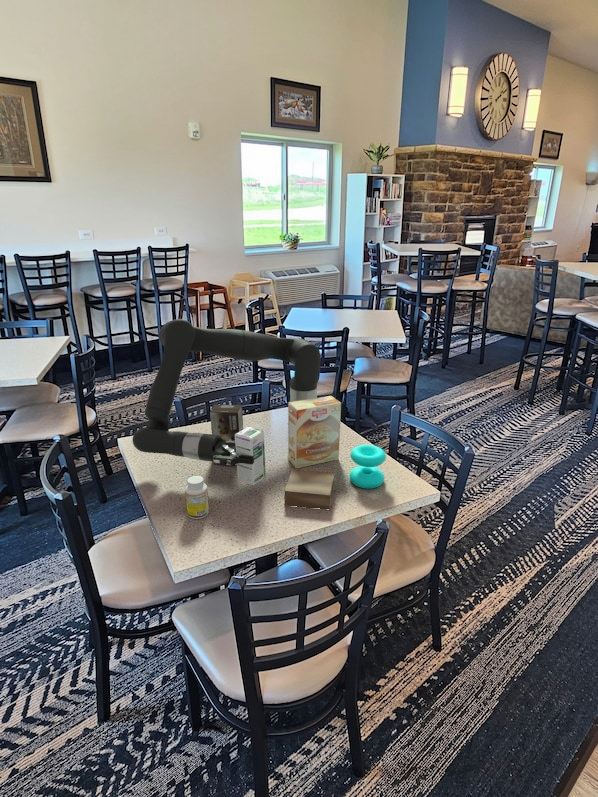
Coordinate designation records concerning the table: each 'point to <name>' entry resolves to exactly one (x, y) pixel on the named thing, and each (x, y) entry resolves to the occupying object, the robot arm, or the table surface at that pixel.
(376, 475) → the donuts
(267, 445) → the table surface
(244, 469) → the syrup box
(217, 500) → the table surface
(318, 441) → the coffeecake box
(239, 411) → the coffee box
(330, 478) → the walnut riser
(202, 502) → the supplement bottle
